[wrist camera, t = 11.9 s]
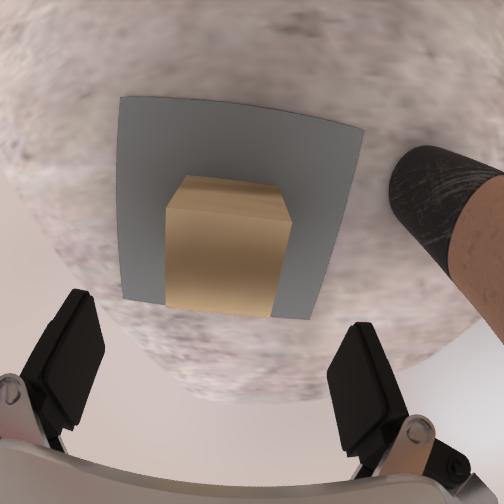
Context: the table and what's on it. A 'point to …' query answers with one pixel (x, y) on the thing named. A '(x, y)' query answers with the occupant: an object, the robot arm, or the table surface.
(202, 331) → the table surface
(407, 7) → the table surface
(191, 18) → the table surface
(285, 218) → the oak block
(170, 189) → the charcoal mat
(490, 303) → the travel mug
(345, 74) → the table surface
